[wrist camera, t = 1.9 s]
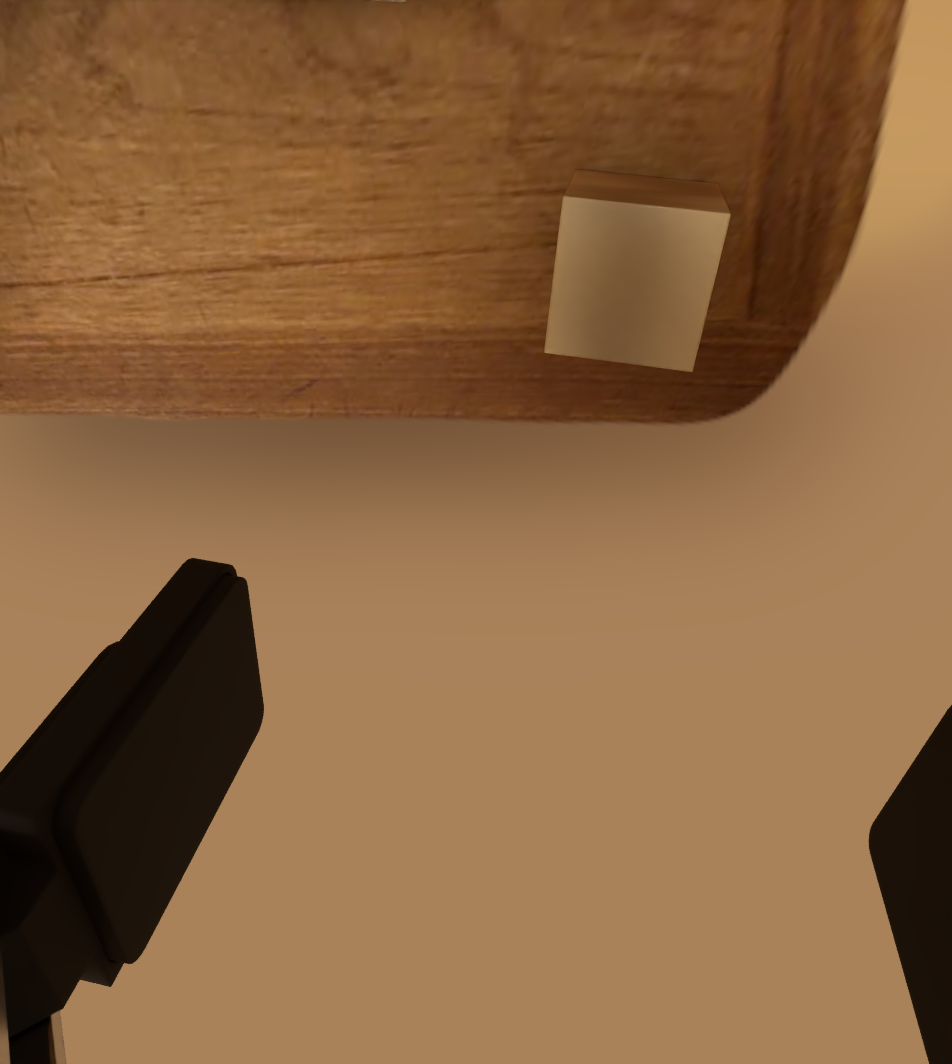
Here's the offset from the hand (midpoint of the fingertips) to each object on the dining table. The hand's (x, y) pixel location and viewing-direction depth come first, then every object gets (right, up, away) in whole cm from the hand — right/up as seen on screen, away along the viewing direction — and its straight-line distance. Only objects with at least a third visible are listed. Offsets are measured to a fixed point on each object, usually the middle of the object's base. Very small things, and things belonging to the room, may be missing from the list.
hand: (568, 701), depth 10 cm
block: (+4, +12, +15) cm, 20 cm away
